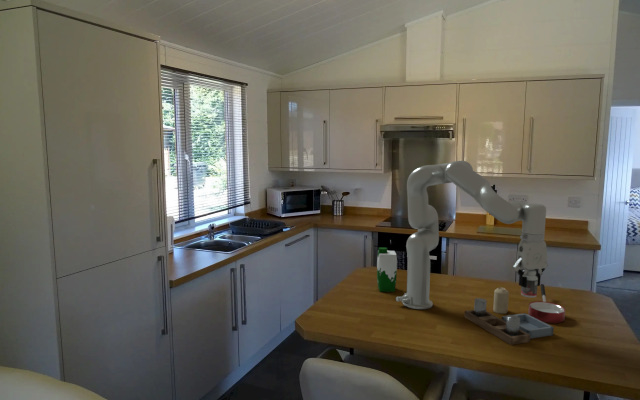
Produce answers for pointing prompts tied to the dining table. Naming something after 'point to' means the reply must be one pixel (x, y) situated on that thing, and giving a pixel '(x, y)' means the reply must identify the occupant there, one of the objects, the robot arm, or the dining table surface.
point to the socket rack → (497, 327)
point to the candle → (501, 300)
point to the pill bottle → (530, 285)
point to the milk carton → (386, 270)
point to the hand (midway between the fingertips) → (529, 285)
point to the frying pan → (546, 310)
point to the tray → (533, 326)
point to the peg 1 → (480, 307)
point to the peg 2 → (512, 325)
